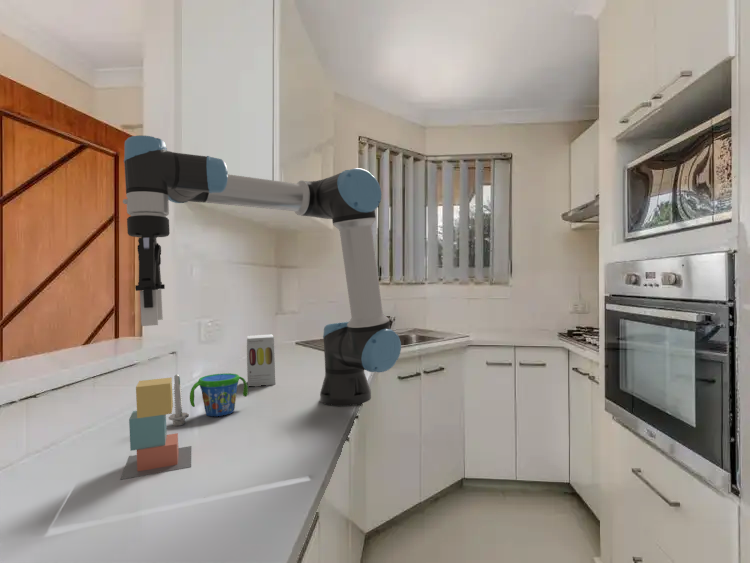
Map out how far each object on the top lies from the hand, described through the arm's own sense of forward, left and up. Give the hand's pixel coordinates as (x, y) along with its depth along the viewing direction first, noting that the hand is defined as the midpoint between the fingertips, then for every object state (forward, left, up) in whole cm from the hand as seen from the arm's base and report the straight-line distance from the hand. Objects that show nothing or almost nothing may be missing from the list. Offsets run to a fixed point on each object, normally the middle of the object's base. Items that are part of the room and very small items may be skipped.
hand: (152, 322), depth 90 cm
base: (0, 0, -29) cm, 29 cm away
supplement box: (+4, -69, -29) cm, 75 cm away
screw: (+10, -25, -29) cm, 40 cm away
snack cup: (+3, -34, -29) cm, 45 cm away
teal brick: (+1, +1, -24) cm, 24 cm away
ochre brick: (0, 0, -18) cm, 18 cm away
